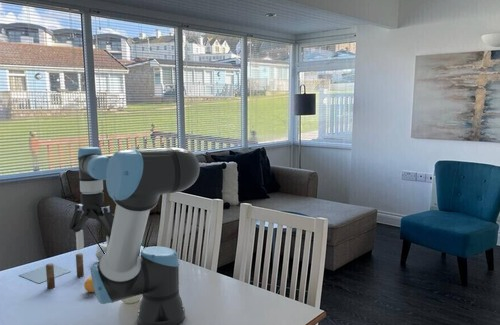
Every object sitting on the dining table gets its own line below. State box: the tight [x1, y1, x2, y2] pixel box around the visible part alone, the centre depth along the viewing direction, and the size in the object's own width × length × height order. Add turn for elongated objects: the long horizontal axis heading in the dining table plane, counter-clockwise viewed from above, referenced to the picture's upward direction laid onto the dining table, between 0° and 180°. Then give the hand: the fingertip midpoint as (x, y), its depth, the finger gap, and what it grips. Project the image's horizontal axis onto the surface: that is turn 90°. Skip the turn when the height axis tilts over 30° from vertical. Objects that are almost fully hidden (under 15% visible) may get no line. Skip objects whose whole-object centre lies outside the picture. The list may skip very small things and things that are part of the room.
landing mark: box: [18, 264, 72, 284], centre depth 167 cm, size 14×14×1 cm
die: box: [95, 243, 107, 263], centre depth 180 cm, size 8×9×10 cm
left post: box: [45, 262, 56, 290], centre depth 154 cm, size 3×3×9 cm
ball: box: [83, 276, 95, 293], centre depth 151 cm, size 6×6×6 cm
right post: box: [75, 253, 85, 278], centre depth 164 cm, size 3×3×9 cm
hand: (95, 251), depth 143 cm, fingers open, 13 cm apart
